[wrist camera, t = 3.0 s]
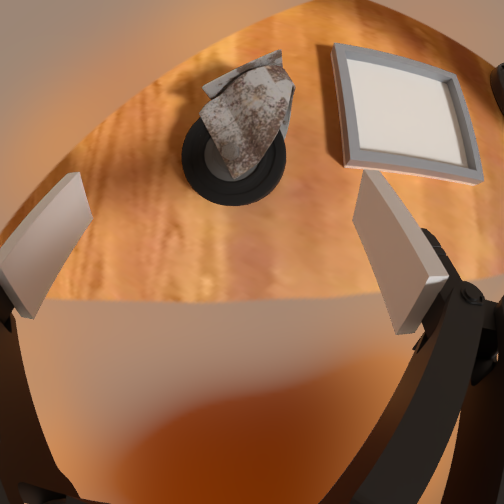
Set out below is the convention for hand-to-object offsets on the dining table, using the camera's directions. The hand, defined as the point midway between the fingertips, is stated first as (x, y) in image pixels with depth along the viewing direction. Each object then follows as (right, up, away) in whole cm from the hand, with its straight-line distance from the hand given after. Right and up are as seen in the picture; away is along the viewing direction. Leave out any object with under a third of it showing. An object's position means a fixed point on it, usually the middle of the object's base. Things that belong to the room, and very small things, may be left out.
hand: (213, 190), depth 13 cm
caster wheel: (+1, +6, +13) cm, 14 cm away
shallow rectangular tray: (+18, +12, +13) cm, 25 cm away
